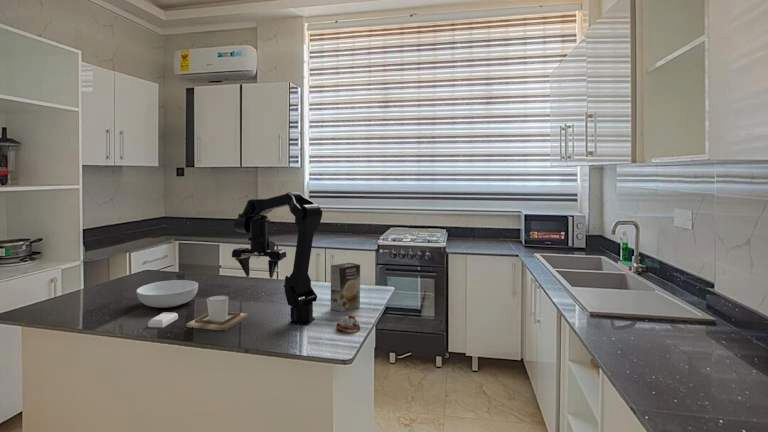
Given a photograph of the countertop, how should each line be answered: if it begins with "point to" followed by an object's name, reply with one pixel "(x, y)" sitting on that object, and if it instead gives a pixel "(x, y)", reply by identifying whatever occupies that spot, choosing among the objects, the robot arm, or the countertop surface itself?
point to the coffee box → (345, 286)
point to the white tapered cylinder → (217, 307)
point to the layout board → (217, 325)
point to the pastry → (348, 325)
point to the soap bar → (163, 319)
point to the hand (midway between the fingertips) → (259, 277)
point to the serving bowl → (167, 293)
